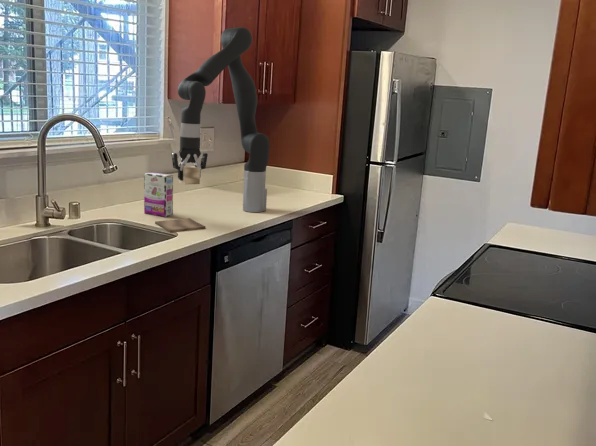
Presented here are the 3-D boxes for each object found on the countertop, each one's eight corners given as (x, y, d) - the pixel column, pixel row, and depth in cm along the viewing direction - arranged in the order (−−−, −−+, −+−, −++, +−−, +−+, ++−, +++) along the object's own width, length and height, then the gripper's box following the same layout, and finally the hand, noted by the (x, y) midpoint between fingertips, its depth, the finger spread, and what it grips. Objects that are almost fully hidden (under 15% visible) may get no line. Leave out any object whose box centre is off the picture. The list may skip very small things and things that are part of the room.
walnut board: (189, 220, 229) (189, 218, 229) (205, 228, 218) (205, 226, 217) (155, 223, 221) (155, 221, 221) (169, 232, 210) (169, 230, 210)
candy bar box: (173, 215, 236) (173, 174, 232) (165, 217, 231) (165, 176, 227) (152, 211, 241) (152, 171, 237) (143, 213, 236) (143, 172, 232)
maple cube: (193, 181, 228) (193, 166, 227) (199, 184, 223) (200, 168, 222) (178, 181, 225) (178, 166, 223) (184, 184, 220) (185, 168, 219)
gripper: (203, 134, 227) (202, 178, 231) (168, 134, 219) (167, 178, 223) (212, 137, 221) (210, 181, 225) (176, 136, 213) (175, 182, 217)
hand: (189, 179), depth 224 cm, fingers closed on maple cube, 6 cm apart
